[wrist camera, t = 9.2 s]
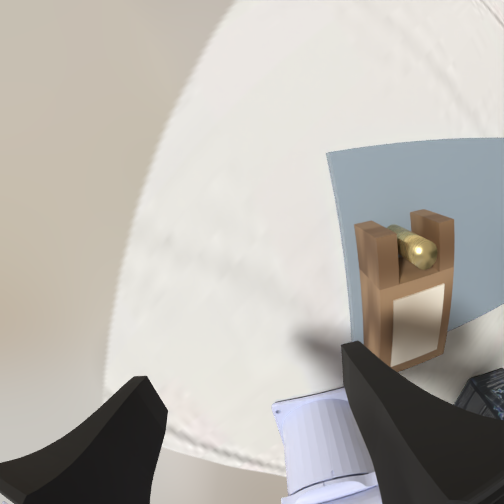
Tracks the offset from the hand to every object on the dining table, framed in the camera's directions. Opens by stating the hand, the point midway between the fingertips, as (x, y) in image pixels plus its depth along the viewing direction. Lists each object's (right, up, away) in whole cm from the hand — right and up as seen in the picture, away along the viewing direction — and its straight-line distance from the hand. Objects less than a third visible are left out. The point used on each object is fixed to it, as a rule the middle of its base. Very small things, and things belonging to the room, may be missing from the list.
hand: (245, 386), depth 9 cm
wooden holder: (+10, +2, +9) cm, 14 cm away
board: (+15, +5, +9) cm, 18 cm away
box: (+30, -13, +14) cm, 35 cm away
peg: (+10, +6, +8) cm, 14 cm away
